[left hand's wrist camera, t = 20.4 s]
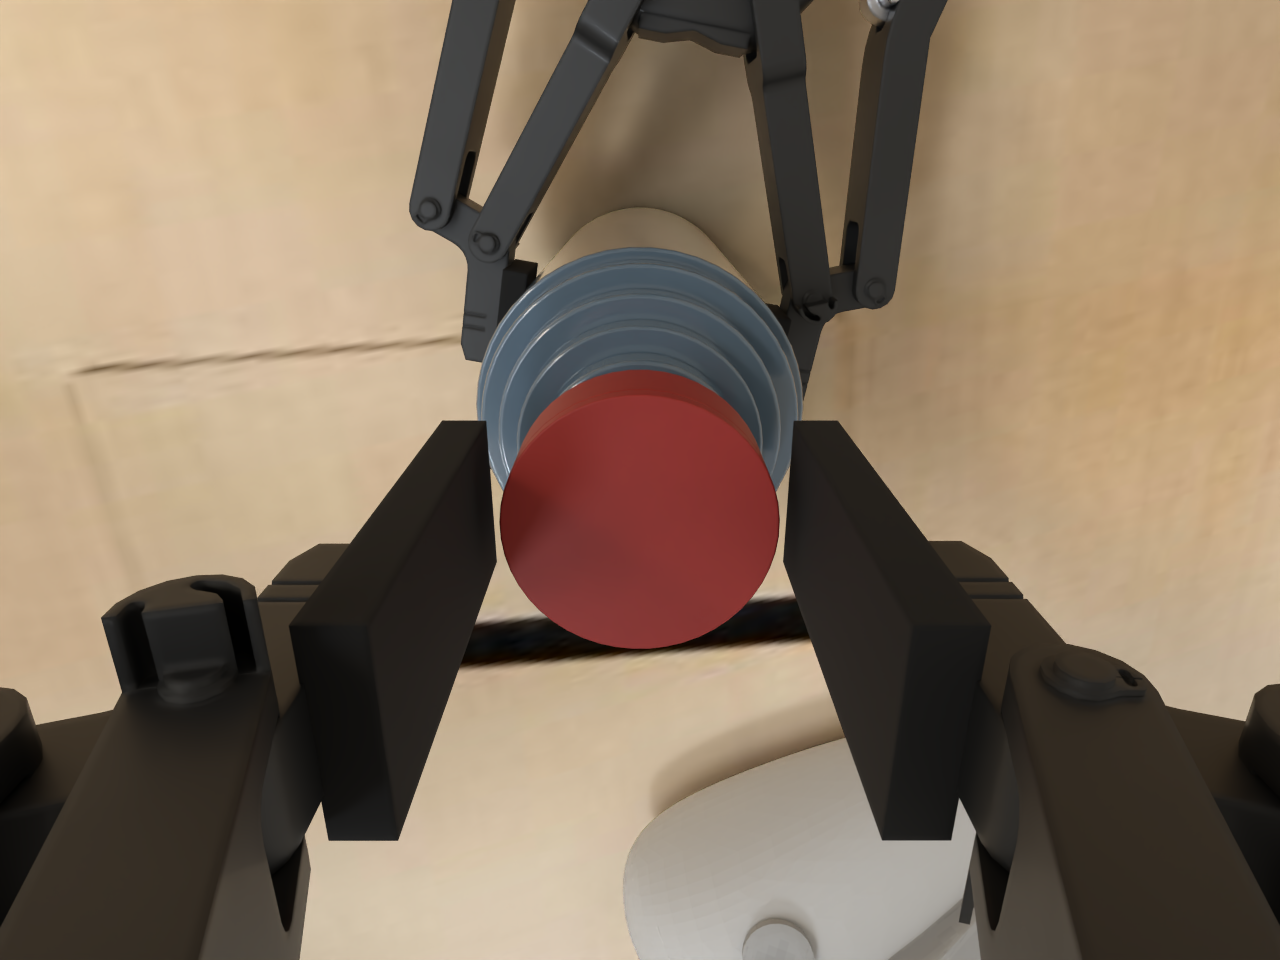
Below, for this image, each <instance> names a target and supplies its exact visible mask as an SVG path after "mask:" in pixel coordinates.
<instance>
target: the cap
mask: <svg viewBox="0 0 1280 960" xmlns="http://www.w3.org/2000/svg"><path fill="white" fill-rule="evenodd" d="M779 523H780V518H779V506H778V500H777V496H776V491H775V487H774V484H773V482H772V479H771V477H770V474H769V472H768V469H767V467H766V464H765V462H764V459H763V457H762V454H761V452H760V449H759V447H758V445H757V442H756V440H755V438H754V436H753V434H752V433H751V431H750V429H749V427H748V425H747V424H746V423H745V422H744V420H743V419H742V418H741V416H740V415H739V414H738V412H737V411H736V410H735V409H734V408H733V407H731V406H730V405H729V404H728V403H727V402H726V401H725V400H724V399H723V398H721V397H720V396H719V395H717V394H716V393H715V392H713V391H712V390H710V389H708V388H706V387H705V386H703V385H701V384H699V383H697V382H695V381H692V380H690V379H687V378H685V377H682V376H679V375H675V374H671V373H667V372H662V371H653V370H625V371H618V372H612V373H608V374H604V375H601V376H597V377H594V378H592V379H589V380H587V381H585V382H582V383H580V384H578V385H576V386H575V387H573V388H571V389H569V390H568V391H566V392H565V393H563V394H562V395H561V396H559V397H558V398H557V399H556V400H554V401H553V402H552V403H551V404H550V405H549V406H548V407H547V408H546V409H545V410H544V411H543V412H542V413H541V414H540V415H539V417H538V418H537V419H536V421H535V422H534V423H533V425H532V426H531V428H530V429H529V431H528V433H527V435H526V437H525V439H524V441H523V443H522V445H521V448H520V450H519V452H518V455H517V457H516V460H515V462H514V465H513V467H512V469H511V472H510V474H509V477H508V480H507V483H506V485H505V488H504V492H503V497H502V501H501V508H500V533H501V541H502V546H503V550H504V554H505V557H506V560H507V563H508V565H509V568H510V570H511V572H512V574H513V576H514V578H515V580H516V581H517V583H518V585H519V586H520V588H521V589H522V590H523V592H524V593H525V595H526V596H527V597H528V599H529V600H530V601H531V602H532V603H533V604H534V605H535V606H536V607H537V608H538V609H539V610H540V611H541V612H542V613H543V614H545V615H546V616H547V617H548V618H550V619H551V620H552V621H553V622H555V623H556V624H558V625H560V626H561V627H563V628H564V629H566V630H568V631H570V632H572V633H574V634H576V635H578V636H580V637H582V638H585V639H588V640H591V641H594V642H597V643H600V644H605V645H610V646H614V647H623V648H632V649H635V648H657V647H665V646H670V645H674V644H678V643H683V642H686V641H688V640H691V639H694V638H697V637H699V636H701V635H703V634H705V633H707V632H709V631H711V630H713V629H715V628H717V627H718V626H720V625H721V624H723V623H724V622H726V621H727V620H729V619H730V618H731V617H732V616H733V615H735V614H736V613H737V612H738V611H739V610H741V609H742V608H743V606H744V605H745V604H746V603H747V602H748V601H749V600H750V599H751V598H752V597H753V595H754V594H755V592H756V591H757V589H758V588H759V587H760V585H761V584H762V582H763V580H764V578H765V576H766V575H767V573H768V571H769V569H770V566H771V563H772V561H773V558H774V555H775V552H776V547H777V542H778V537H779Z"/></svg>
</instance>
